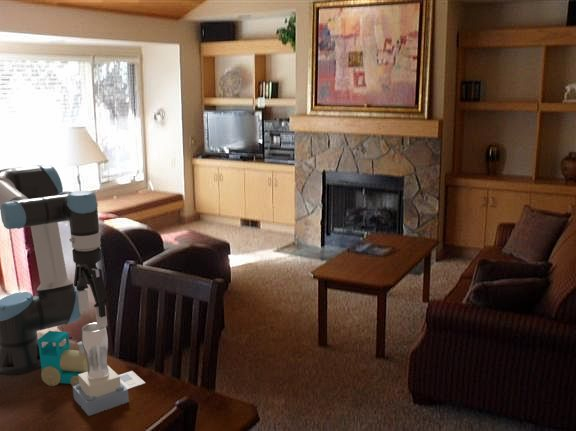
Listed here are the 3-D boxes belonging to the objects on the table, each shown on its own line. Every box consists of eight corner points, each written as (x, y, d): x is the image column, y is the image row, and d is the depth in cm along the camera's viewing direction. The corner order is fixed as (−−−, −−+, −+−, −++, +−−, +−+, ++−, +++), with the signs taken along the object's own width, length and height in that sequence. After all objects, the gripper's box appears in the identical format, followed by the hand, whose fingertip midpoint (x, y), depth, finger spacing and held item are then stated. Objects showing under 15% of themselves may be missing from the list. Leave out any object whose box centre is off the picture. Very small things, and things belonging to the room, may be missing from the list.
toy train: (91, 389, 188) (87, 344, 185) (41, 385, 191) (36, 340, 188) (103, 376, 196) (99, 333, 192) (55, 373, 199) (50, 329, 195)
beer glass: (81, 380, 177) (76, 331, 174) (92, 368, 184) (87, 321, 181) (104, 381, 176) (100, 332, 173) (114, 369, 183) (110, 322, 180)
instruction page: (111, 378, 195) (111, 377, 195) (132, 371, 199) (132, 370, 199) (124, 390, 187) (124, 389, 187) (145, 383, 191) (145, 382, 191)
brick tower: (73, 398, 183) (71, 374, 181) (112, 385, 190) (110, 361, 188) (88, 416, 174) (85, 390, 172) (128, 401, 181) (126, 376, 179)
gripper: (58, 239, 178) (65, 308, 183) (89, 261, 159) (96, 337, 164) (83, 235, 183) (90, 302, 188) (117, 255, 163) (123, 329, 169)
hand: (93, 319), depth 176 cm, fingers open, 13 cm apart
